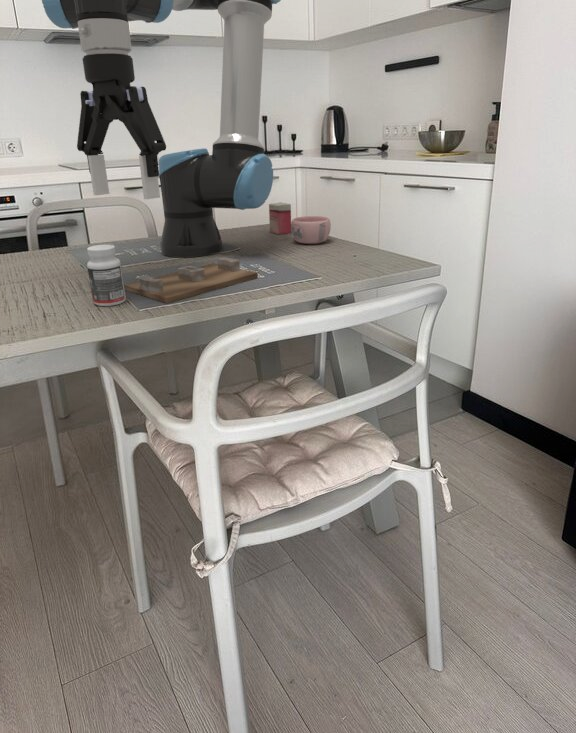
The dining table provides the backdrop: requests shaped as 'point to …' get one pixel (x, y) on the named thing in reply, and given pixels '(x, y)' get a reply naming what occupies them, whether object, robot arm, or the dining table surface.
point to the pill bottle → (105, 276)
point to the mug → (310, 229)
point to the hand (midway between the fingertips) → (125, 196)
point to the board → (191, 281)
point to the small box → (280, 218)
